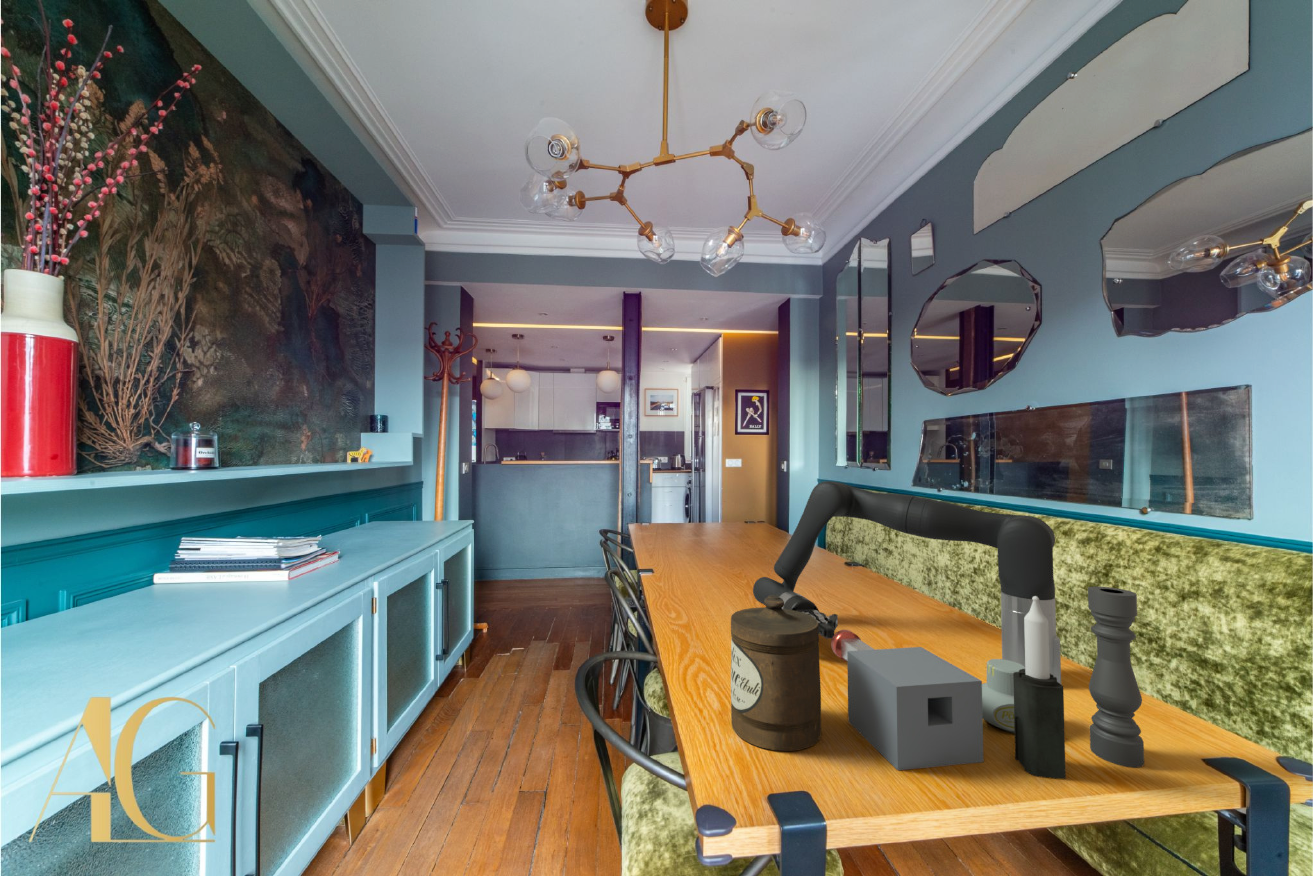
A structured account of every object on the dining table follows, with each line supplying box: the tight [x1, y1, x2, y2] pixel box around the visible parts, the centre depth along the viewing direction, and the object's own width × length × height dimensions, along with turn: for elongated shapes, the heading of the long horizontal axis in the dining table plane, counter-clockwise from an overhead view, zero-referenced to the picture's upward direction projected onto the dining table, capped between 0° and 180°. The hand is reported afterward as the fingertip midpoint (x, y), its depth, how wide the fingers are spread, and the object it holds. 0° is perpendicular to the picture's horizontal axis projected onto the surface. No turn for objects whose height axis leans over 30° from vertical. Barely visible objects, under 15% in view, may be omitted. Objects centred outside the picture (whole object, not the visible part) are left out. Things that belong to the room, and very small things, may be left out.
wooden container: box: [730, 595, 822, 752], centre depth 88 cm, size 15×15×22 cm
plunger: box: [830, 629, 876, 662], centre depth 94 cm, size 20×6×6 cm, turn 9°
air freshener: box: [982, 658, 1025, 734], centre depth 89 cm, size 11×8×10 cm
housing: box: [846, 646, 984, 771], centre depth 83 cm, size 14×14×12 cm
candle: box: [1013, 596, 1066, 779], centre depth 77 cm, size 5×5×25 cm
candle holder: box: [1087, 586, 1145, 768], centre depth 80 cm, size 6×6×25 cm
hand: (830, 634), depth 110 cm, fingers closed
